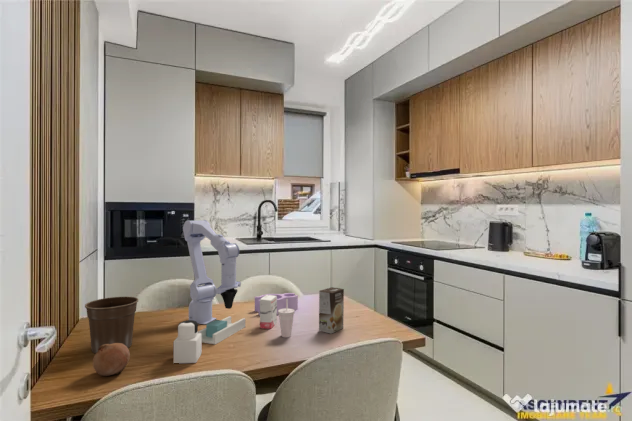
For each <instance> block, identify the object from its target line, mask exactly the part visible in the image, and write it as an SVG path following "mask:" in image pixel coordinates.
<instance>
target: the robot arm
mask: <svg viewBox="0 0 632 421" xmlns="http://www.w3.org/2000/svg"><path fill="white" fill-rule="evenodd" d="M182 231H183V236H184V240H185V241H186V242H187V247H188V252H189V257H190V263H191V266H192V271H193V272H192V273H193V278H194V279H193V281H192V282H191V283H190V285H189V288H190V289H189V296H190V298H191V301H190V302H189V304H188V320H193V321H196V322H197V323H198V325H206V324H208V323H211V322H213V321H215V320H217V317H213V300H215V299H214V298H215V297H216V296H217V295H220V296H221V298H222V300H223V304H224V306H225V309H228V310H231V309H232V308H233V304H234V300H235V297H236V295H237V294H238V289H237V288H240V287H241V285H242V282H241V281H237V258H238V257H239V256H240V248H239V245H238V244H237V243H236V242H235V243H233V242H230V241H229V240H228V239H227V238H225V237H224V235H223V234H222V233H221V234H220V233H218V234H217V233H216V232H215V231H214V229H213V228H212V227H211V223H210V222H209V221H208V220H206V219H202V220H185V221H184V223H183V227H182ZM205 238H207V240H209V241H210V245H211V246H212V247H213V248H214V249H215V250H216V251H217V253H218V256H219V262H220V264H221V267H220V268H221V273H220V274H221V276H220V277H221V279H220V281H221V285H219V286H218V287H216V285H215V283H214V279H212V278H210V277H208V273H207V270H206V265H205V260H204V255H203V250H202V246H201V241H203V240H204V239H205Z"/></svg>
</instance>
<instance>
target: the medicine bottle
mask: <svg viewBox="0 0 632 421" xmlns="http://www.w3.org/2000/svg"><path fill="white" fill-rule="evenodd" d="M198 325H199V324H198V323H197V322H196V321H193V320H189V319H188V320H183V321H181V322H179V323H178V324H177V337H176V338H175V339H174V340H173V342H172V343H173V344H172V345H173V349H172V350H173V351H172V352H173V354H172V355H173V358H172V359H173V362H172V363H173V364H174V363H179V364H195V363H197V362H198V360H199V359H200V357H201V356H202V353H203V352H202V350H203V348H202V347H203V346H202V345H203V344H202V343H203V342H202V334H201V333H198V331H199V330H198Z"/></svg>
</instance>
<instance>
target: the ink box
mask: <svg viewBox="0 0 632 421" xmlns="http://www.w3.org/2000/svg"><path fill="white" fill-rule="evenodd" d="M264 295H265V294H264ZM277 322H278V315H277V296H274V295H265V296H264V297H263V298H261V299H260V315H259V329H264V330H265V329H268V330H269V329H270V330H271V329H272V328H273V327H274V326H275V325H277Z"/></svg>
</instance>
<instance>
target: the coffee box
mask: <svg viewBox="0 0 632 421" xmlns="http://www.w3.org/2000/svg"><path fill="white" fill-rule="evenodd" d="M344 290H345V288H340V287H328V288H325V289H321V290H319V291H318V293H319V294H318V300H319V302H318V306H319V307H318V331H319V332H323V333H327V334H331V335H332V334H334V333H336V332H338V331H340V330H342V329H344V315H345V314H344V311H345V310H344V309H345V307H344V303H345V302H344V297H345V296H344V295H345V291H344Z"/></svg>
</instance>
